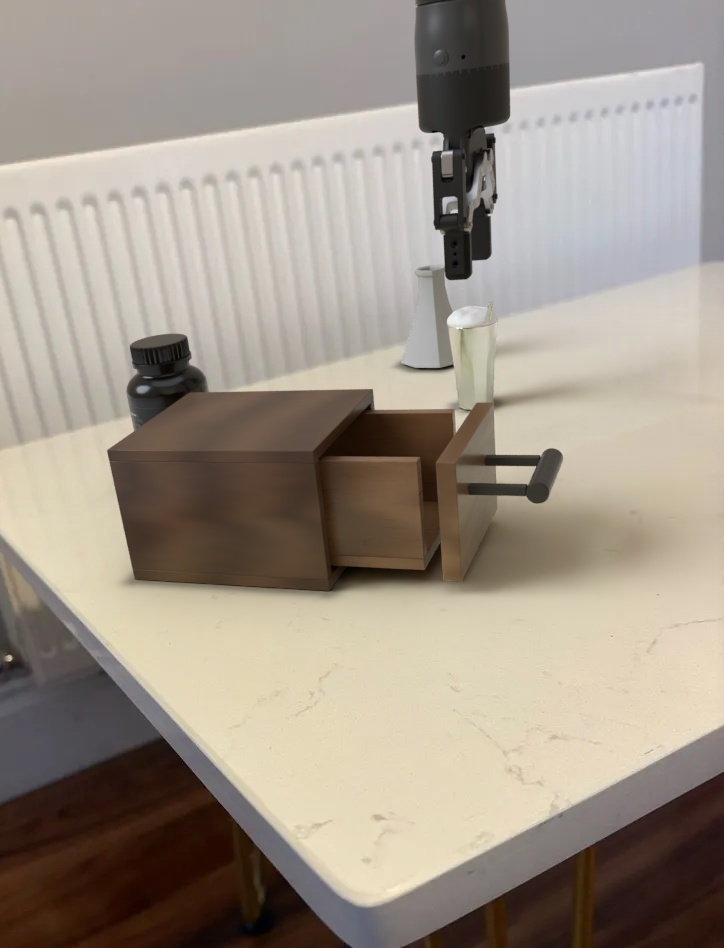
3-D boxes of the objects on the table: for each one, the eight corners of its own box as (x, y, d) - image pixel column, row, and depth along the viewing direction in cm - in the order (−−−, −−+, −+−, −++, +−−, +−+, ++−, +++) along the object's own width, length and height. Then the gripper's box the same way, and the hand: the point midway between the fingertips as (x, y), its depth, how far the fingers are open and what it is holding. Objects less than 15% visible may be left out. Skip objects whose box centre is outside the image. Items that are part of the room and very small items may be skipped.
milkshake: (474, 417, 94) (469, 307, 89) (442, 405, 98) (436, 299, 94) (515, 406, 95) (512, 296, 91) (482, 394, 100) (478, 289, 95)
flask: (389, 366, 113) (382, 273, 109) (431, 349, 117) (426, 259, 113) (441, 373, 108) (435, 276, 104) (483, 355, 112) (479, 261, 108)
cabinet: (384, 514, 77) (373, 388, 72) (329, 591, 67) (312, 451, 62) (209, 508, 82) (189, 392, 78) (134, 579, 72) (106, 450, 68)
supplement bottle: (139, 473, 92) (112, 340, 87) (213, 457, 93) (191, 325, 88) (150, 497, 86) (122, 356, 81) (229, 480, 87) (206, 340, 82)
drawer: (569, 510, 71) (568, 401, 67) (543, 586, 61) (541, 463, 58) (318, 504, 78) (306, 404, 74) (261, 571, 69) (244, 460, 65)
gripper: (491, 62, 76) (497, 284, 84) (523, 54, 88) (525, 251, 95) (394, 74, 79) (407, 289, 87) (437, 66, 91) (445, 255, 98)
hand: (469, 268), depth 91 cm, fingers open, 8 cm apart
